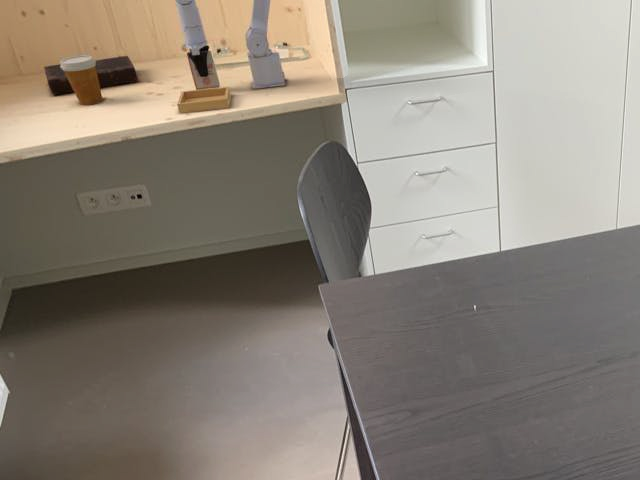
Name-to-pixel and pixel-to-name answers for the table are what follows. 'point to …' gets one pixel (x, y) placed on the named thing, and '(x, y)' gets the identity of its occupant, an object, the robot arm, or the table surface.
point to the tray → (204, 99)
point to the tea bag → (208, 81)
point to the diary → (106, 70)
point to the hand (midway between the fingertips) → (205, 74)
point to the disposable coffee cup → (83, 78)
